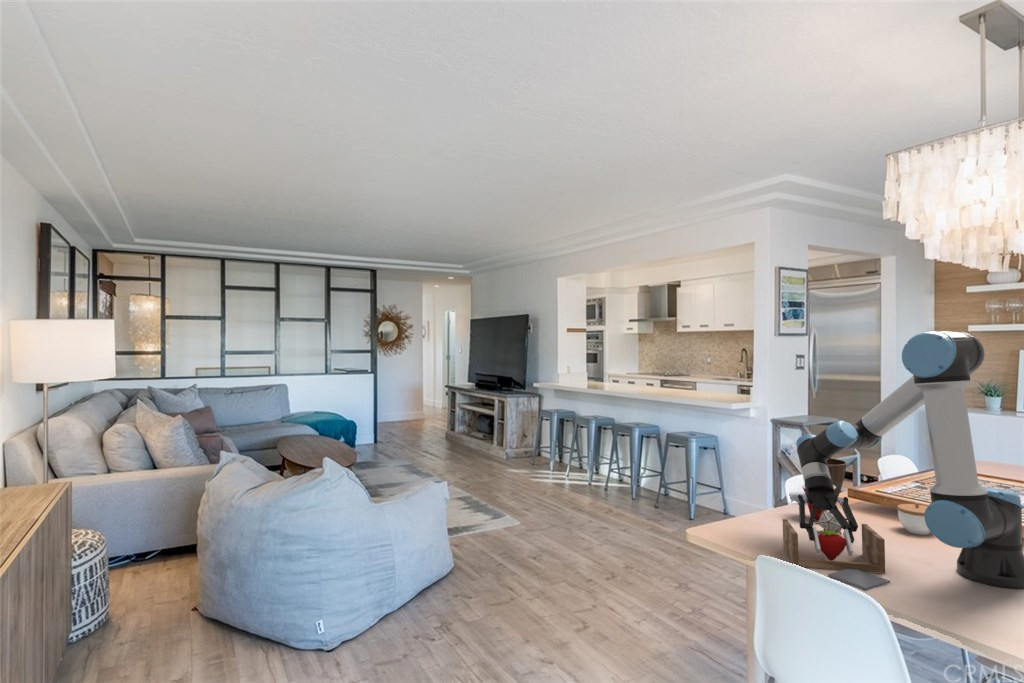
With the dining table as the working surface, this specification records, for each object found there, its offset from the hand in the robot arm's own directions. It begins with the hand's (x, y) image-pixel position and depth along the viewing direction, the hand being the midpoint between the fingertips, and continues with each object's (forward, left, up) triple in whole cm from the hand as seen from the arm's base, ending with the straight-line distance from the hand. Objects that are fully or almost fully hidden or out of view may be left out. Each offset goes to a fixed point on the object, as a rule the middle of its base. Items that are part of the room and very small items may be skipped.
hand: (834, 552), depth 156 cm
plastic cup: (+30, -35, -4) cm, 46 cm away
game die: (+18, -24, -4) cm, 30 cm away
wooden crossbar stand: (+3, -2, -4) cm, 5 cm away
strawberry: (+3, -2, -4) cm, 5 cm away
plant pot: (+44, -59, -4) cm, 73 cm away
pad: (-9, +4, -4) cm, 11 cm away
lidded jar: (+6, -50, -4) cm, 51 cm away
